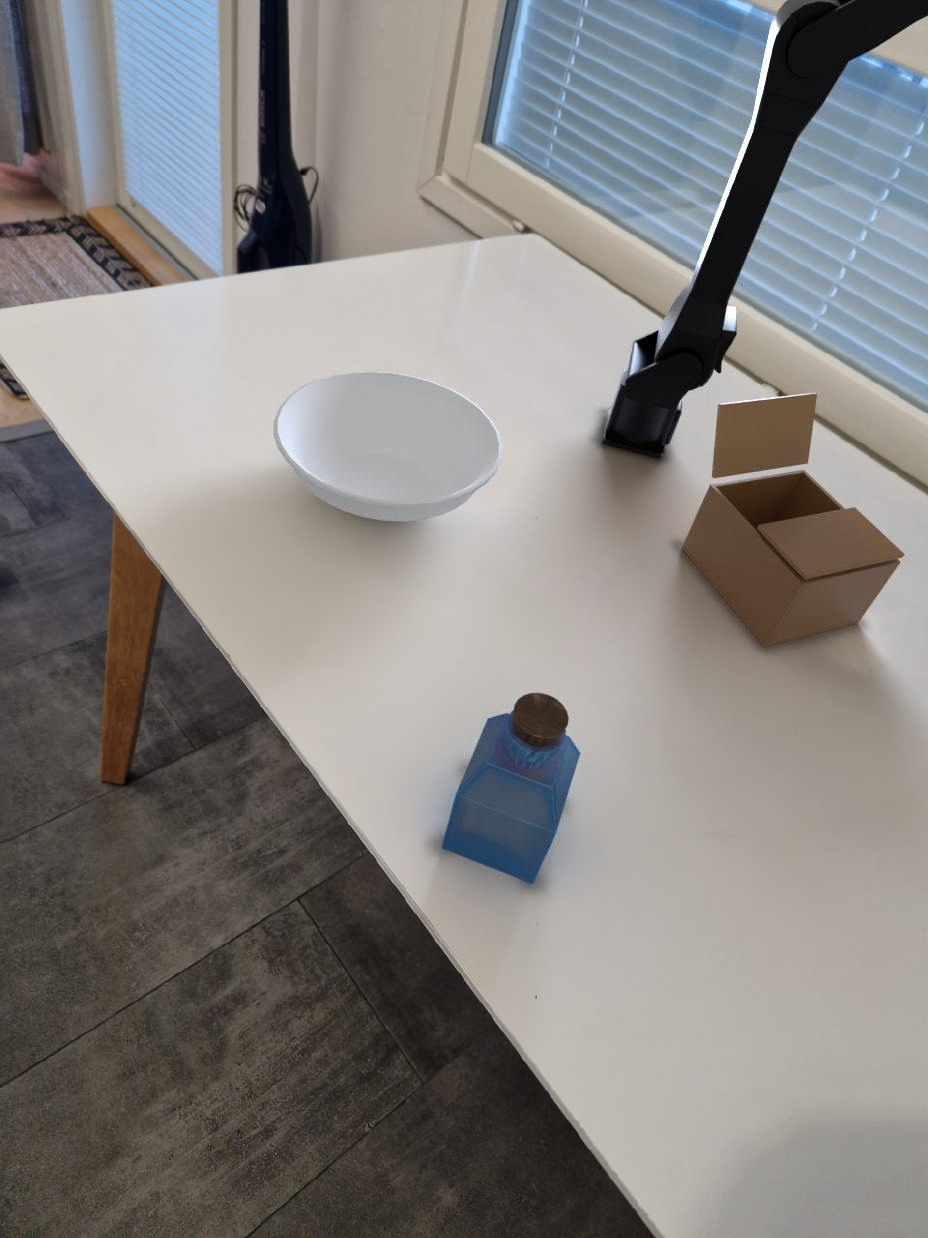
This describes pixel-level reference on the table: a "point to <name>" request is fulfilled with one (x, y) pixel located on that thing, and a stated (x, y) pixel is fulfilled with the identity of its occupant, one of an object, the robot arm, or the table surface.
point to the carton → (789, 555)
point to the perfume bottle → (515, 788)
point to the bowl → (387, 444)
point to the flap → (763, 434)
